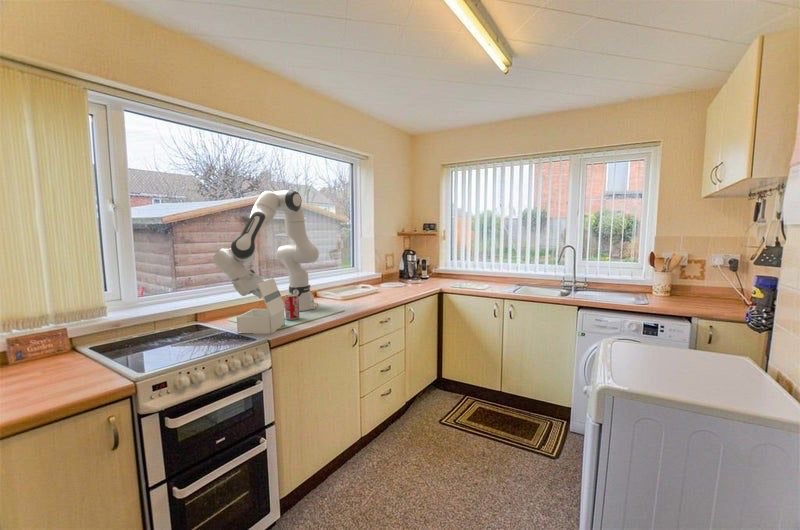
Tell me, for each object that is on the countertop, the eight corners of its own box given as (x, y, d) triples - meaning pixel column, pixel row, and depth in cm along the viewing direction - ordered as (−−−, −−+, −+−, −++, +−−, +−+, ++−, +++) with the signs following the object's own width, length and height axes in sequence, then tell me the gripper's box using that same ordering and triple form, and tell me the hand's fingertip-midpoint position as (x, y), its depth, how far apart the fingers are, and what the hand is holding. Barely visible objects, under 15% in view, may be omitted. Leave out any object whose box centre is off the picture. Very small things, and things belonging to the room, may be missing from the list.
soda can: (295, 320, 183) (294, 296, 181) (283, 320, 184) (281, 296, 183) (301, 317, 190) (300, 294, 188) (289, 316, 191) (288, 293, 190)
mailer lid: (272, 278, 174) (273, 278, 174) (284, 308, 175) (285, 307, 175) (257, 283, 158) (258, 283, 158) (270, 316, 159) (272, 315, 159)
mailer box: (254, 324, 177) (253, 308, 176) (284, 324, 176) (283, 309, 175) (237, 333, 161) (236, 316, 160) (271, 334, 160) (270, 317, 159)
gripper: (234, 275, 156) (256, 296, 156) (255, 269, 176) (275, 288, 176) (225, 285, 156) (247, 306, 157) (247, 278, 177) (267, 297, 177)
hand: (262, 297), depth 167 cm, fingers closed
